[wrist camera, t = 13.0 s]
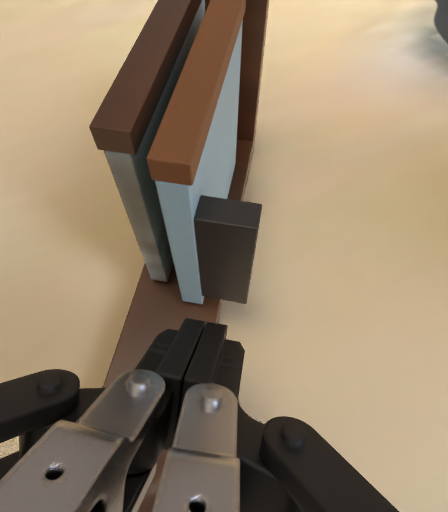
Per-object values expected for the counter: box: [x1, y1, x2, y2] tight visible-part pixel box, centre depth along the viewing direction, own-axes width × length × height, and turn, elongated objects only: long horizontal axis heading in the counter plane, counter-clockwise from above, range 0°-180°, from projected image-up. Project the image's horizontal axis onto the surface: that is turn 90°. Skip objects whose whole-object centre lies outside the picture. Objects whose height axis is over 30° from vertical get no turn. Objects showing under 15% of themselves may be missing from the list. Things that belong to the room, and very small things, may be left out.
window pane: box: [147, 0, 262, 304], centre depth 18 cm, size 4×11×11 cm, turn 169°
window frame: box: [89, 0, 269, 512], centre depth 17 cm, size 5×27×13 cm, turn 169°
